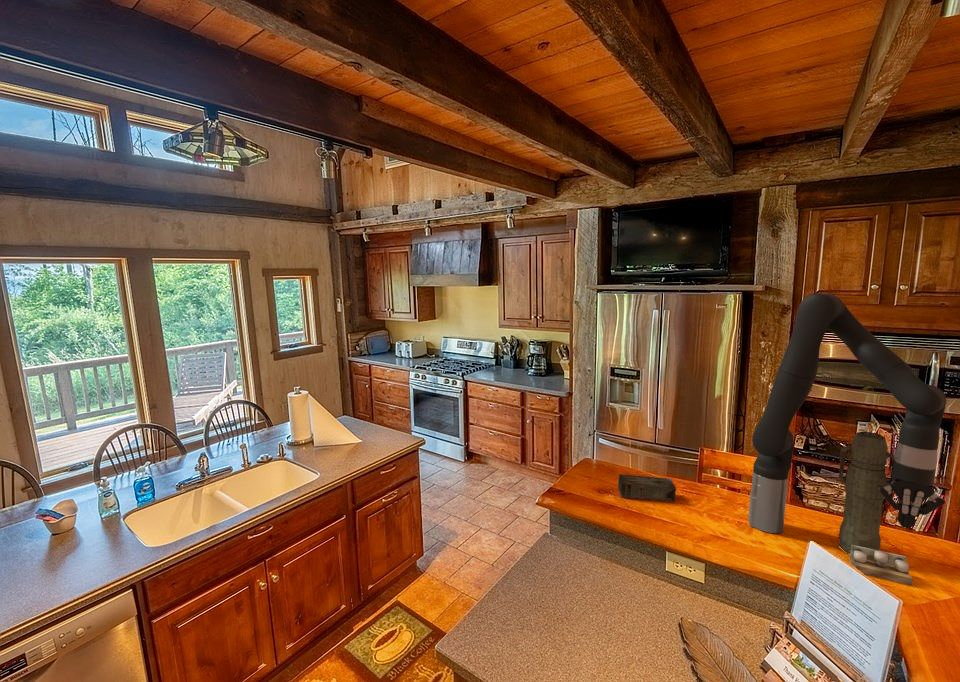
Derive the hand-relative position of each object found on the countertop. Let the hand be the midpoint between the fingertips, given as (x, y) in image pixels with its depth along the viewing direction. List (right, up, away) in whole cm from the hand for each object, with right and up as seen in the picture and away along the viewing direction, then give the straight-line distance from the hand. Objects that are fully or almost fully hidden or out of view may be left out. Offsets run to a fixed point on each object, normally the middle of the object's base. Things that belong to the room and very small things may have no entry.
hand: (905, 526), depth 112 cm
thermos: (-1, -13, +13) cm, 19 cm away
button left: (-8, -13, +5) cm, 16 cm away
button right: (0, -14, +1) cm, 14 cm away
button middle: (-4, -12, +3) cm, 13 cm away
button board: (-4, -14, +3) cm, 15 cm away
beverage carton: (-49, -9, +47) cm, 69 cm away
